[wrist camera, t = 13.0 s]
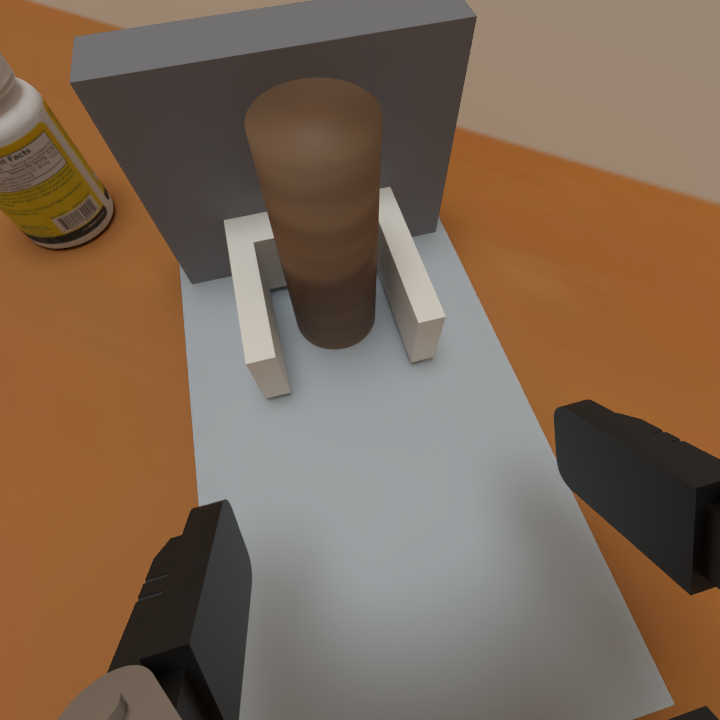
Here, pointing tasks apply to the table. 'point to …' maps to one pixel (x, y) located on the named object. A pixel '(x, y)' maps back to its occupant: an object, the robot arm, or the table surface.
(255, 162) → the dowel
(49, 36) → the table surface
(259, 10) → the board with wall
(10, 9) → the table surface
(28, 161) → the supplement bottle
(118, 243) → the table surface
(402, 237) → the cradle
